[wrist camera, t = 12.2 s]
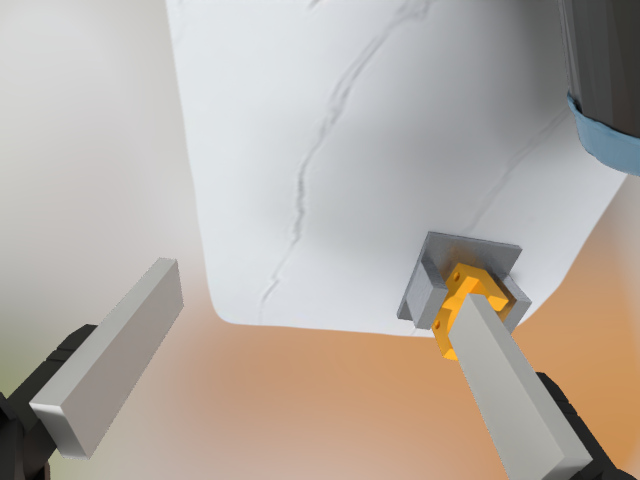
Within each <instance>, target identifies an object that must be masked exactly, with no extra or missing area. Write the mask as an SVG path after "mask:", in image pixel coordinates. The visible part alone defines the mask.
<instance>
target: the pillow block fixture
mask: <svg viewBox="0 0 640 480" xmlns="http://www.w3.org/2000/svg"><path fill="white" fill-rule="evenodd" d="M521 251H522V249H521V248H520V247H519V246H516V245H509V244H503V243H497V242H491V241H484V240H478V239H472V238H465V237H459V236H453V235H447V234H440V233H434V232H428V235H427V238H426V240H425V243H424V245H423V248H422V250H421V253H420V256H419V258H418V261H417V263H416V266H415V268H414V271H413V273H412V276H411V279H410V281H409V284H408V286H407V289H406V291H405V294H404V297H403V299H402V302H401V304H400V307H399V309H398V312H397V317H398V319H404V320H411V321H413V322H414V325H415V328H420V329H427V330H430V328H431V326H432V324H433V322H434V320H435V318H436V316H437V314H438V312H439V310H440V309H441V305H442V303H443V301H444V299H445V297H446V295H447V293H448V291H449V290H448V288H447V286H446V284H445V282H446V281H447V279H448V278H449V276H450V275H451V273H452V272H453V270H454V269H455V267H456V266H457V264H458V263H462V264H465V265H469V266H472V267H476V268H479V269H483V270H486V271H487V273H488V274H489V275H490V277H491V278H492V279H493V281H494V282H495V283H496V284H497V286H498V287H499V288H500V290H501V291H502V292H503V294H504V295H505V296H506V297H507V299H508V300H509V301H508V302H507V303H506V305H505V306H504V307H503V308H502V310H501V311H496V310H494V311H495V312H496V314H497V315H498V317H499V318H500V320H501V321H502V323H503V324H504V326H505V327H506V329H507V330H508V332H509V333H510V335H511V333H512V331H513V330H514V329H515V327H516V326H517V324H518V323H519V321H520V320H521V318H522V317H523V315H524V314H525V313H526V311H527V310H528V308H529V307H530V305H531V304H532V302H531V301H530V299H529V298H528V297H527V296H526V295H525V294H524V292H523V291H522V290H521V289H520V288H519V287H518V286H517V284H516V283H515V282H514V281H513V280H512V279H511V277H510V276H509V275H508V274H509V272H510V270H511V268H512V267H513V265H514V263H515V262H516V260H517V258H518V256H519V255H520V253H521Z"/></svg>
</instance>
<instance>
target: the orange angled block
mask: <svg viewBox="0 0 640 480" xmlns="http://www.w3.org/2000/svg"><path fill="white" fill-rule="evenodd" d="M445 284H446V286H447V288H448V290H449V291H448V293H447V295H446V297H445V299H444V301H443V303H442V305H441V309H440V310H439V312H438V314H437V316H436V318H435V320H434V322H433V324H432V326H431V328H432V330H433V333H434V335H435V338H436V340H437V343H438V346H439V348H440V351H441V353H442V356H443V357H444V358H448V359H452V360H456V361H458V358H457V356H456V354H455V351H454V349H453V347H452V344H451V342H450V340H449V337H448V334H449V332H450V329H451V327H452V325H453V323H454V321H455V319H456V317H457V314H458V312H459V310H460V308H461V306H462V304H463V302H464V300H465V297H466V295H467V293H472V294H481V295H484V296H485V297H486V299H487V300H488V302H489V303H490V305H491V306H492V308H493V309H494V310H496V311H501V310H502V308H503V307H504V306H505V305H506V303H507V302H508V301H509V300H508V299H507V297H506V296H505V295H504V294H503V292H502V291H501V290H500V288H499V287H498V286H497V284H496V283H495V282H494V281H493V279H492V278H491V277H490V275H489V274H488V273H487V271H486V270H483V269H479V268H476V267H472V266H469V265H465V264H462V263H458V264H457V266H456V267H455V269H454V270H453V272H452V273H451V275H450V276H449V278H448V279H447V281H446V282H445Z"/></svg>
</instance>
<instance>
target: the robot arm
mask: <svg viewBox="0 0 640 480" xmlns="http://www.w3.org/2000/svg"><path fill="white" fill-rule="evenodd" d="M558 6H559V14H560V22H561V30H562V37H563V45H564V53H565V61H566V69H567V77H568V85H569V90H568V94H567V100H568V104H569V107H570V109H571V111H572V112H573V113H574V115H575V120H576V124H577V129H578V134H579V138H580V141H581V143H582V145H583V147H584V148H585V150H586V151H587V152H588V153H590V154H591V155H593V156H595V157H596V158H597V160H599V161H600V162H601V163H603V164H604V165H606V166H609V167H611V168H613V169H616V170H618V171H621V172H624V173H628V174H632V175H636V176H640V0H558ZM183 307H184V304H183V298H182V291H181V284H180V277H179V270H178V264H177V260H176V259H167V258H159V259H158V260H157V261H156V262H155V263H154V264H153V265H152V267H151V268H150V269H149V270H148V271H147V272H146V273H145V274H144V275H143V277H142V278H141V279H140V280H139V281H138V282H137V283H136V284H135V286H134V287H133V288H132V289H131V290H130V291H129V292H128V293H127V294H126V295H125V297H124V298H123V299H122V300H121V301H120V302H119V303H118V304H117V305H116V307H115V308H114V309H113V310H112V311H111V312H110V313H109V314H108V315H107V317H106V318H105V319H104V320H103V321H102V322H101V324H99V325H89V324H86V325H84V326H83V327H81V328H79V329H78V330H76V331H75V332H73V333H71V334H70V335H69V336H68V337H67V338H66V339H65V340H64V341H63V342H62V343H61V344H60V345H59V346H58V347H57V350H54V351H53V352H52V353H51V354H50V355H49V356H48V357H47V358H46V361H44V362H42V363H41V364H40V366H39V367H38V368H37V369H36V370H35V371H34V372H33V373H32V374H31V375H30V376H29V377H28V378H27V379H26V380H25V381H24V382H23V383H22V384H21V385H20V386H19V387H18V388H17V389H16V390H15V391H14V392H13V393H12V394H11V395H10V396H9V398H7V399H6V398H5V397H4V395H3V394H2V392H0V480H50V465H49V463H48V459H49V458H50V456H51V455H52V453H53V452H54V451H55V449H56V448H57V449H58V450H59V452H60V454H61V455H62V457H63V458H73V459H82V460H89V459H90V458H91V456H92V454H93V453H94V451H95V450H96V448H97V446H98V445H99V443H100V441H101V440H102V438H103V437H104V435H105V433H106V432H107V430H108V428H109V427H110V425H111V424H112V422H113V420H114V419H115V417H116V416H117V414H118V412H119V411H120V409H121V407H122V406H123V404H124V402H125V401H126V399H127V398H128V396H129V394H130V393H131V391H132V390H133V388H134V386H135V385H136V383H137V381H138V380H139V378H140V376H141V375H142V373H143V372H144V370H145V368H146V367H147V365H148V364H149V362H150V360H151V359H152V357H153V355H154V353H155V352H156V351H157V349H158V347H159V346H160V344H161V342H162V341H163V339H164V338H165V335H166V334H167V333H168V331H169V329H170V328H171V326H172V325H173V323H174V321H175V320H176V318H177V317H178V315H179V313H180V312H181V310H182V308H183ZM448 337H449V340H450V342H451V344H452V347H453V349H454V351H455V354H456V356H457V358H458V361H459V363H460V365H461V368H462V370H463V372H464V375H465V377H466V379H467V382H468V384H469V386H470V389H471V391H472V393H473V396H474V398H475V400H476V403H477V405H478V407H479V410H480V412H481V414H482V417H483V419H484V421H485V424H486V426H487V428H488V431H489V433H490V435H491V438H492V440H493V442H494V445H495V447H496V449H497V452H498V454H499V457H500V459H501V461H502V464H503V466H504V468H505V470H506V473H507V475H508V478H509V480H637V479H636V478H634V477H633V476H632V475H630V474H628V473H626V472H624V471H622V470H620V469H617V468H616V467H615V465H614V464H613V463H612V462H611V460H610V459H609V457H608V456H607V455H606V453H605V452H604V450H603V449H602V447H601V446H600V445H599V443H598V442H597V440H596V439H595V437H594V436H593V435H592V433H591V432H590V430H589V429H588V427H587V426H586V425H585V423H584V422H583V420H582V419H581V418H580V417H579V416H578V415H577V412H576V411H575V409H574V408H573V406H572V405H571V404H569V401H568V399H567V398H566V396H565V395H564V393H563V392H562V391H561V389H560V388H559V387H558V385H557V384H555V383H554V382H553V381H552V380H551V379H550V378H549V377H548V376H547V375H546V374H545V373H541V372H535V371H534V370H533V368H532V367H531V365H530V364H529V362H528V361H527V359H526V358H525V356H524V355H523V353H522V352H521V350H520V348H519V347H518V345H517V344H516V343H515V341H514V339H513V338H512V336H511V335H510V333H509V332H508V330H507V329H506V327H505V326H504V324H503V323H502V321H501V320H500V318H499V317H498V315H497V314H496V312H495V311H494V309H493V308H492V306H491V305H490V303H489V302H488V300H487V299H486V297H485V296H484V295H481V294H472V293H467V295H466V297H465V300H464V302H463V304H462V306H461V308H460V310H459V312H458V314H457V317H456V319H455V321H454V323H453V325H452V327H451V329H450V332H449V334H448Z"/></svg>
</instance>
